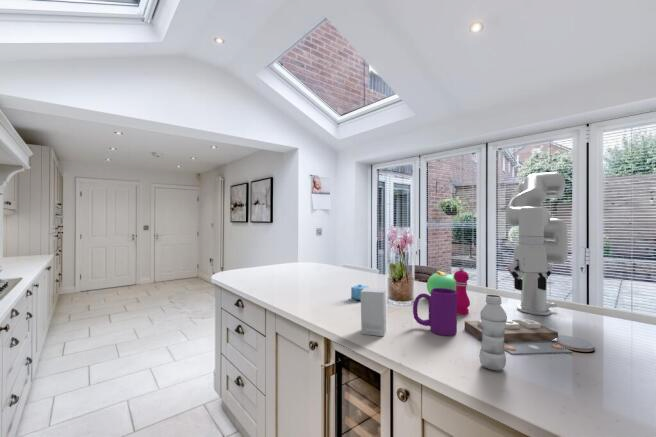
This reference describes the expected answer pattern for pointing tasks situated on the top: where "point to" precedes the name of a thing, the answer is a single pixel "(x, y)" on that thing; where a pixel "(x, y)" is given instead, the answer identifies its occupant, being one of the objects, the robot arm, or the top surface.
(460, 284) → the pepper mill
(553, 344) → the pattern card
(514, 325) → the middle button
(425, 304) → the top surface
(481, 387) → the top surface
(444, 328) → the mug
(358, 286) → the teapot
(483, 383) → the top surface
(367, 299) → the skincare box
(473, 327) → the button board
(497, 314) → the plastic bottle
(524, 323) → the button
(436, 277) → the toy bird
